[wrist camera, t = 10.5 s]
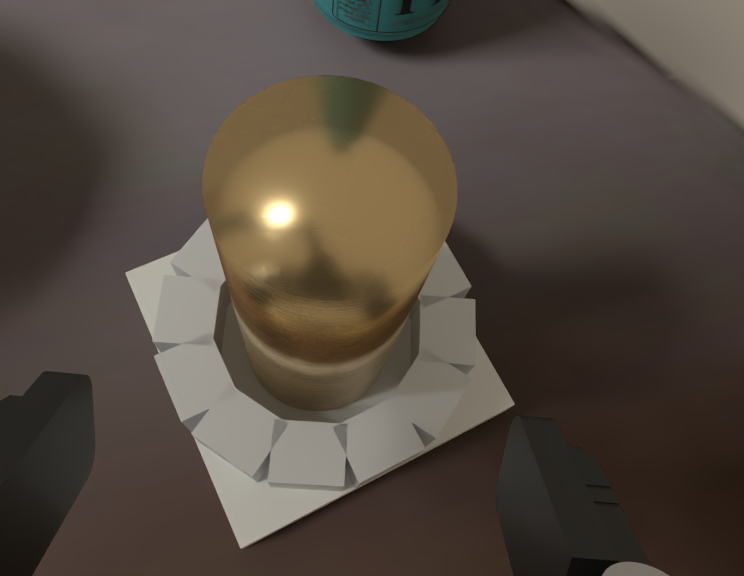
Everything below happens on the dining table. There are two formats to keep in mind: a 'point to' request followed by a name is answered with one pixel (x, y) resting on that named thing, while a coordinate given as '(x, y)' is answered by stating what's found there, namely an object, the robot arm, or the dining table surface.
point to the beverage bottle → (382, 16)
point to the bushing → (326, 229)
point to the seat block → (300, 427)
